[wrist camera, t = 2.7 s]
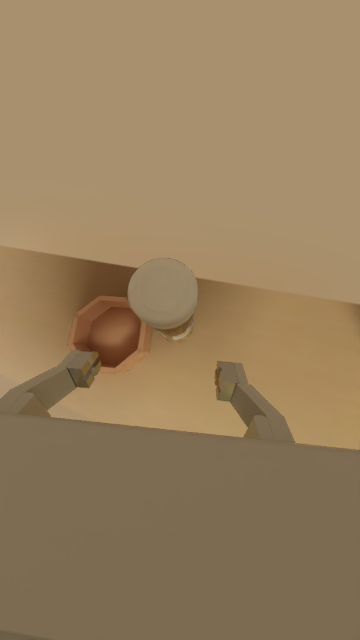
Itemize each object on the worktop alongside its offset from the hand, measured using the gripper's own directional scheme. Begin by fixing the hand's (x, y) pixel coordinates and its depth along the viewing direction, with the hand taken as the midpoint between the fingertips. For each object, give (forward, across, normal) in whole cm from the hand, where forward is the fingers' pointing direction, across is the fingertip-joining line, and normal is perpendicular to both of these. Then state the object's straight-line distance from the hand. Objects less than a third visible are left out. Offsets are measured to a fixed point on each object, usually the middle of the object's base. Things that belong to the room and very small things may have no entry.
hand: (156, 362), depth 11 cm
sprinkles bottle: (+11, 0, +5) cm, 12 cm away
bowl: (+10, +8, +6) cm, 14 cm away
